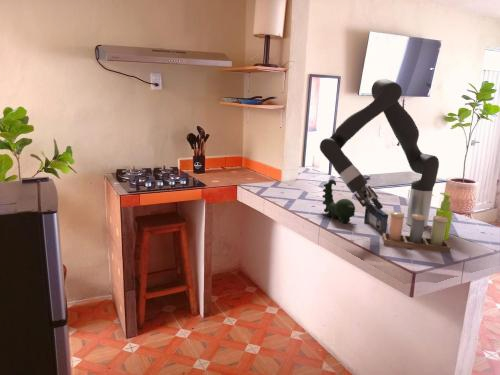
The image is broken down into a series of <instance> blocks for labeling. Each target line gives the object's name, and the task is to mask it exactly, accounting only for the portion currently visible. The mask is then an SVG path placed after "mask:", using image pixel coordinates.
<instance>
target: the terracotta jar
mask: <svg viewBox="0 0 500 375" xmlns="http://www.w3.org/2000/svg"><path fill="white" fill-rule="evenodd" d="M404 218H405V213H403V212H400V211H391V213H390V222H389V223H390V224H389V230H388V234H389V236H388V240H395V241H400V240H401V235H402V232H403V225H404Z"/></svg>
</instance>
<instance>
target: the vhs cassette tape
mask: <svg viewBox="0 0 500 375" xmlns="http://www.w3.org/2000/svg"><path fill="white" fill-rule="evenodd" d="M371 204H372V205H373V207H374V208H375V209H376V211H377V212H376V213H375V214H373V215H372V214H371V213H370V211H369V210H368V209H367V207H365V211H364V222H363V224H364V225H368V226H371V227H372V228H374V230H376V231H377V232H379V233H380V235H383V233H387V228H388V219H389V214H387V213H386V212H385V211H383V210H382V209H380V210H378V209H377V208H376V206H375V205H374V204H373V203H371ZM371 204H370V205H371Z"/></svg>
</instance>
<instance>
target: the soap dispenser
mask: <svg viewBox="0 0 500 375" xmlns="http://www.w3.org/2000/svg"><path fill="white" fill-rule="evenodd" d="M439 195H442V196H444V198H443V200H442V201H441V203H440V208H436V214H435V216H442V217H445V218H447V223H446V229H445V234H444V240H446V241H447V240H448V239H449V237H450V236H449V235H450V232H451V231H450V230H451V224H452V218H453V212H454V211H452V210H450V208H451V202H450V198H451V197H452V195H451V194H449V193H447V192H440V194H439Z"/></svg>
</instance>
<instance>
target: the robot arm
mask: <svg viewBox="0 0 500 375" xmlns="http://www.w3.org/2000/svg"><path fill="white" fill-rule="evenodd" d="M402 93H403V92H402V86H401V85H400V84H399V83H397V82H395V81H392V80H391V79H387V78H379V79H377V80H376V81H375V82H374V83H373V84H372V86H371V95H372V96H371V97H372V98H373V101H371V102H370V103H369V104H367V106H365V107H364V108H362V109H359V110H358V111H356V112H354V113H353V114H351V115H350V116H348V117H347V118H345V120H344V121H343V122H342V123H341V124H340V125H339V126H338V127H337V128H336V129H335V131H334V133H333V134H332V135H331V136H330V137H326V138H323V139H322V140H321V142H320V144H319V150H320V152H321V153H322V155H323V156H324V157H325V158H326V159H327V161H328V162H329V163H330V164H331V165H332V167H333V168H334V170H335V171H336V173H337V174H338V175H339V177H340V178H341V180H342V181H343V183H344V184H345V186H346V187H347V188H348V190H349V191H350V192H351V193H352V194H354V193H355V194H354V197H355V198H356V200H357V201H358V203H359V204H360V205H361V206H362V208H364V207H365V208H366V207H367V209H368V210H369V211H370V213H371V214H372V215H373V214H375V213H376V212H377V211H376V209H375V208H374V207H373V205H374V206H376V208H377V209H378V210H382V209H383V208H384V206H383V204H381V202H380V200H378V199H379V195H377V193H376V192H375V191H374V189H373V188H372V187H371V186H370V185H368V186H366V185H367V184H368V181H367V179H366V178H365V177H364V176H363V174H362V173H361V171H360V170H359V169H358V168H357V167H356V166H355V165H354V164H353V162H352V161H351V160H350V158H348V156H347V155H346V154H345V153H344V151H343V150H342V149H343V147H344V146H345V145H346V143H347V142H349V140H352V138H353V137H354V136H355V135H356V134H357V133H358V132H359V131H360V130H361V129H363V128H364V127H365V126H366V125H367V124H368V123H370V122H371V121H372V120H373V119H375V118H376V117H378V116H379V115H380V114H382V113H383V114H384V116H385V118H386V121H387V122H388V124H389V126H390V129H391V130H392V132H393V134H394V135H395V138H396V139H397V141H398V143H399V145H400V147H401V148H402V150H403V153H404V154H405V157H406V160H407V163H408V166H409V167H410V169H411V170H412V172H414V173H416V174H420V175H421V177H420V179H418V180H413V181H412V182H411V184H410V186H411V187H410V193H409V199H408V207H407V213H406V221H405V223H406V224H407V225H408V226H411V222H412V214H421V215H424V216H426V218H425V223H424V228H426V227H428V222H429V218H430V217H429V216H430V211H431V204H432V196H433V191H434V187H435V184H436V181H437V177H438V172H439V167H440V161H439V158H438V156H436V155H432V154H427V153H423V152H422V151H421V150H420V148H419V146H418V141H419V137H420V130H419V128H418V126H417V125H416V123H415V121H414V119H413V117H412V116H411V114H410V113H409V112H408V111H407V110H406V109H405V108H404V106H402V105H401V104H400V101H399V100H400V98H401V96H402ZM371 202H372V203H371ZM370 204H371V205H370ZM372 204H373V205H372Z"/></svg>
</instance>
